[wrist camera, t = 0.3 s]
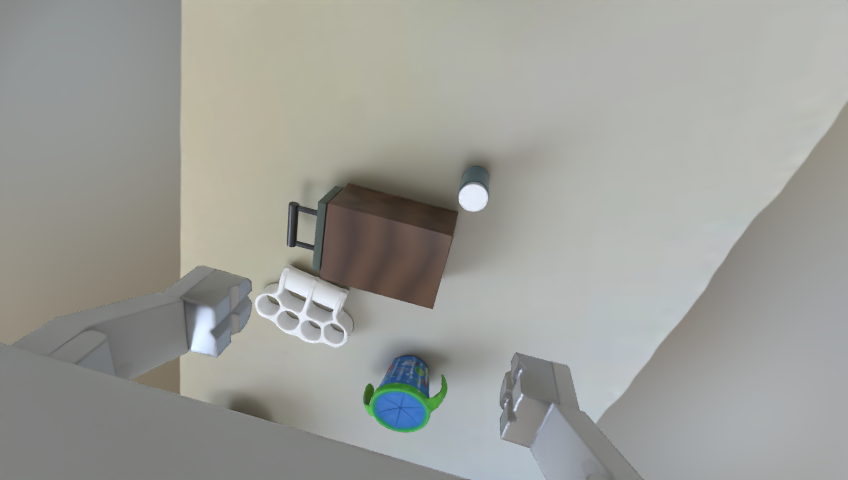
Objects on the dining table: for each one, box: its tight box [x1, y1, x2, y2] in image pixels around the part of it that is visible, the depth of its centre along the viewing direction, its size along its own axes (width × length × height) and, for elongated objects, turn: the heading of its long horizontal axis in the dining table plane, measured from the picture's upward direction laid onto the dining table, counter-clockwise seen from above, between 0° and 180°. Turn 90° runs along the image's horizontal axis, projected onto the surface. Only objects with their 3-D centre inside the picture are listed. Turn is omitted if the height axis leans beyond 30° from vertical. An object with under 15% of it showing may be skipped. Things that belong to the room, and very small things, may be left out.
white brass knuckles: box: [255, 264, 353, 347], centre depth 72 cm, size 3×18×15 cm
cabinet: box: [320, 183, 458, 309], centre depth 60 cm, size 18×13×9 cm
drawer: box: [287, 186, 343, 271], centre depth 60 cm, size 21×11×7 cm, turn 78°
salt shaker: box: [458, 166, 490, 212], centre depth 54 cm, size 4×4×8 cm
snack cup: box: [363, 356, 447, 432], centre depth 72 cm, size 16×10×10 cm
